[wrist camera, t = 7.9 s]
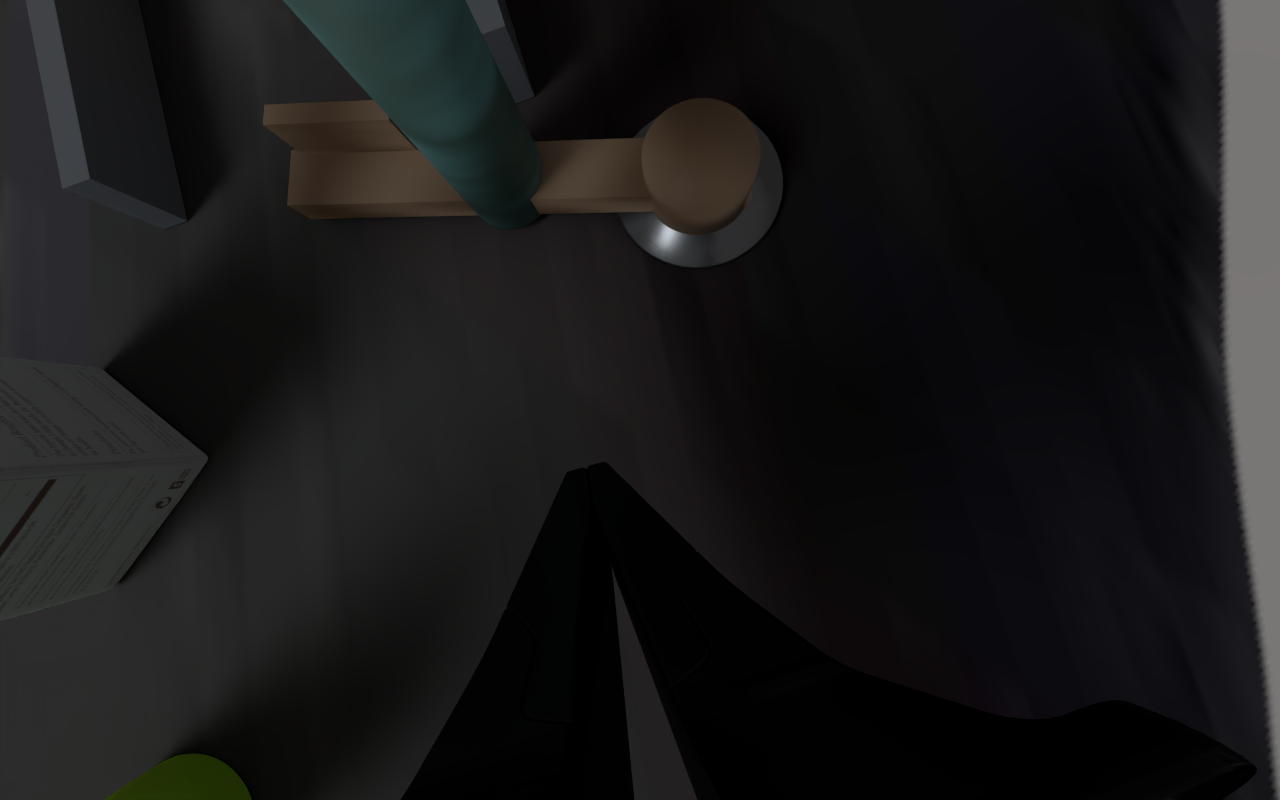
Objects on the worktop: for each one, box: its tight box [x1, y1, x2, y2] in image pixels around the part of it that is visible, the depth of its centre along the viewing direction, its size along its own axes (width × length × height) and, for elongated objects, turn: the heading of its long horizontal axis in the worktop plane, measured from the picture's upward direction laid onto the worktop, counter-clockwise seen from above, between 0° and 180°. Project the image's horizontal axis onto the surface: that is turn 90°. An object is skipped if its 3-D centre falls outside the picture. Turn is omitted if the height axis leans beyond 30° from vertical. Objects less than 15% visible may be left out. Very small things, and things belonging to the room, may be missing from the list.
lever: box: [263, 0, 761, 235], centre depth 13 cm, size 19×4×12 cm, turn 89°
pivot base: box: [618, 117, 783, 269], centre depth 19 cm, size 7×7×1 cm
